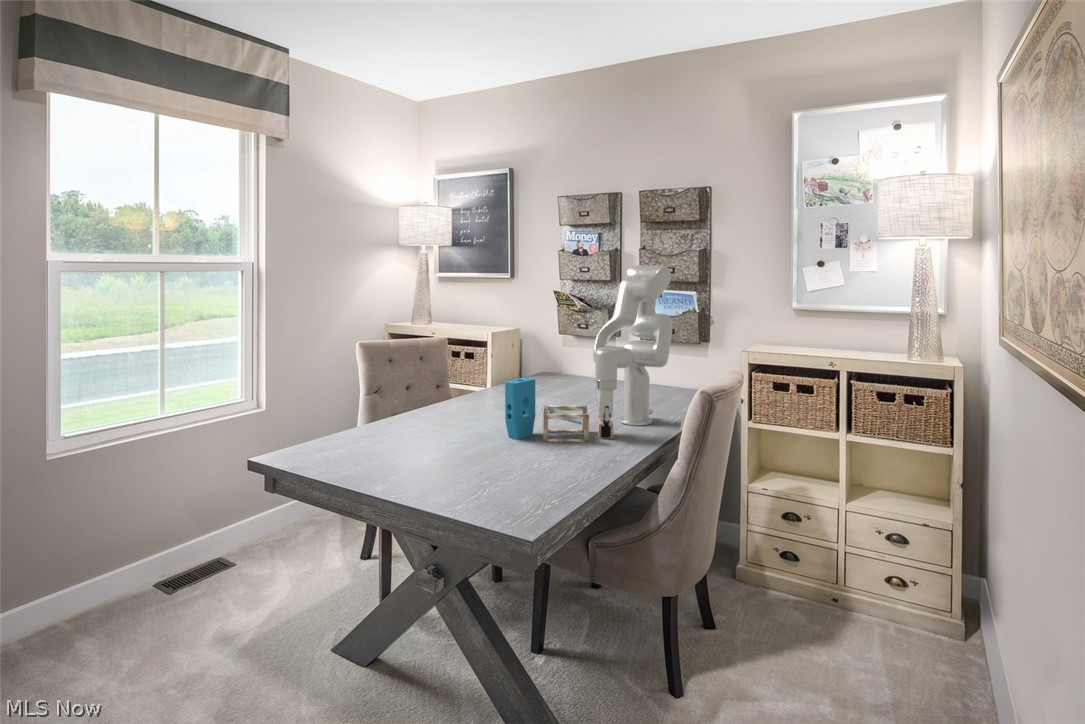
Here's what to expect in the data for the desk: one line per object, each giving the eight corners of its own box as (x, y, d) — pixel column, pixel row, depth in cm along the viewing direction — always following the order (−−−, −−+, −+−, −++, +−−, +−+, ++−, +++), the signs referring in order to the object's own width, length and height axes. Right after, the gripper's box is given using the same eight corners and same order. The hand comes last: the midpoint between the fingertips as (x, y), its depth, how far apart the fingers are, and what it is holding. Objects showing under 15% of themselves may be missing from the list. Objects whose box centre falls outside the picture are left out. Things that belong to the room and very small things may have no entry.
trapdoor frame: (586, 431, 233) (586, 405, 231) (588, 441, 218) (589, 414, 217) (544, 430, 233) (544, 405, 231) (543, 441, 218) (543, 414, 217)
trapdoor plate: (580, 417, 230) (581, 413, 230) (581, 424, 219) (582, 420, 219) (549, 409, 230) (550, 406, 229) (549, 416, 219) (550, 412, 219)
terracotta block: (611, 434, 228) (611, 421, 227) (612, 438, 223) (613, 424, 222) (597, 434, 228) (597, 421, 227) (598, 438, 223) (598, 424, 222)
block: (515, 440, 220) (514, 383, 217) (504, 438, 223) (503, 381, 220) (536, 433, 229) (536, 378, 226) (525, 431, 232) (525, 377, 229)
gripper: (593, 380, 231) (593, 429, 234) (596, 388, 214) (596, 441, 217) (614, 380, 231) (613, 429, 234) (619, 389, 214) (618, 441, 217)
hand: (605, 434), depth 225 cm, fingers closed on terracotta block, 5 cm apart
